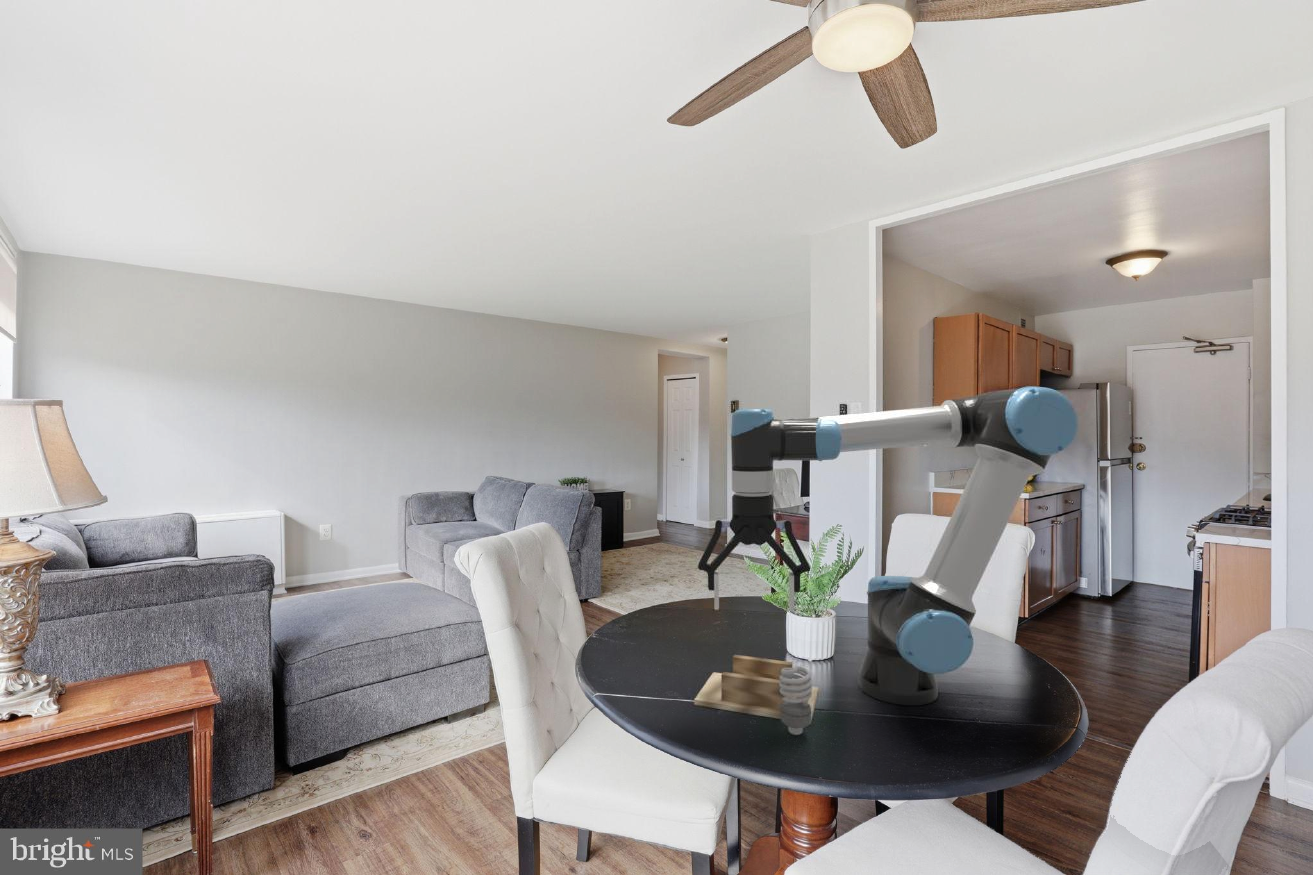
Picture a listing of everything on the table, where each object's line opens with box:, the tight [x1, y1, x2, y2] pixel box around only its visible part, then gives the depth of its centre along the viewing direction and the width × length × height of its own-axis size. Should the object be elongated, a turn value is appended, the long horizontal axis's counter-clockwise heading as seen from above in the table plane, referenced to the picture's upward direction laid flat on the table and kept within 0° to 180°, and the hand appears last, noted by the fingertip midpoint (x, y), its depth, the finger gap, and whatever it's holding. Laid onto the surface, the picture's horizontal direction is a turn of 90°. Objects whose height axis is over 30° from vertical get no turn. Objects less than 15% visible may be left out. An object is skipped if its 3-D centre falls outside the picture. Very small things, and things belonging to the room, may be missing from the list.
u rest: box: [693, 654, 819, 725], centre depth 122 cm, size 22×14×6 cm, turn 70°
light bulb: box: [779, 665, 813, 736], centre depth 108 cm, size 6×6×12 cm
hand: (753, 608), depth 113 cm, fingers open, 13 cm apart
